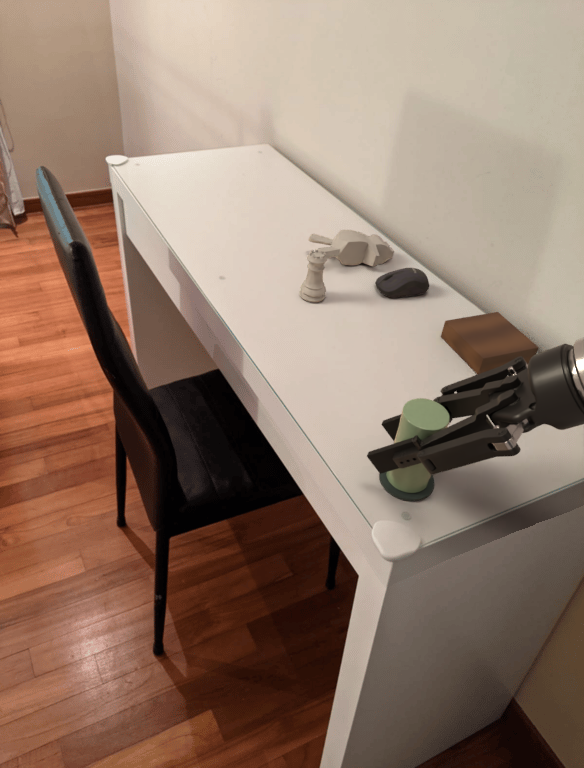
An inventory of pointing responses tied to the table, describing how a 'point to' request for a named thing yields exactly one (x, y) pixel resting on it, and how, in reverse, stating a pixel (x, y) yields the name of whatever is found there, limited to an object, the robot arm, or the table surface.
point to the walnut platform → (487, 341)
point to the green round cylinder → (423, 422)
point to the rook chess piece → (314, 278)
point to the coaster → (405, 495)
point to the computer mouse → (403, 283)
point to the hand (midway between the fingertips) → (382, 446)
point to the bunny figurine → (355, 248)
